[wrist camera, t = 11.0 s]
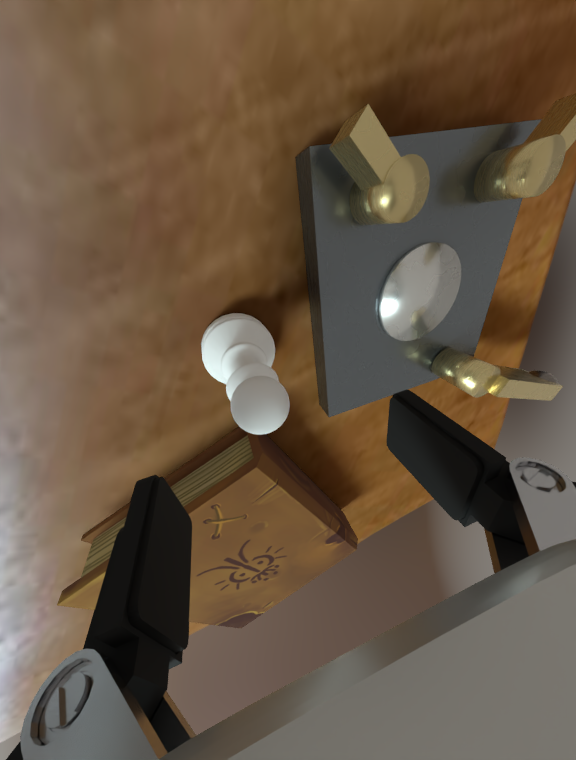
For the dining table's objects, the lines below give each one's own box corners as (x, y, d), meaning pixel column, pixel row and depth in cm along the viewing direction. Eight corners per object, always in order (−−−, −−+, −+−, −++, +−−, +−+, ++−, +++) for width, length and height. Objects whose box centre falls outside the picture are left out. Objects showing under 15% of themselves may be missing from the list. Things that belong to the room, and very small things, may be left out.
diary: (339, 505, 35) (361, 546, 31) (234, 576, 36) (241, 628, 31) (250, 414, 22) (266, 463, 17) (84, 530, 22) (55, 608, 18)
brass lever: (426, 373, 23) (474, 402, 19) (441, 345, 22) (496, 370, 18) (504, 382, 28) (555, 406, 24) (520, 360, 27) (576, 381, 23)
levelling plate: (294, 145, 13) (338, 105, 9) (514, 120, 16) (621, 81, 12) (319, 404, 23) (346, 440, 19) (453, 358, 26) (500, 381, 22)
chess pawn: (282, 339, 19) (340, 405, 12) (242, 386, 20) (271, 475, 12) (230, 296, 16) (261, 347, 9) (186, 353, 17) (180, 442, 10)
